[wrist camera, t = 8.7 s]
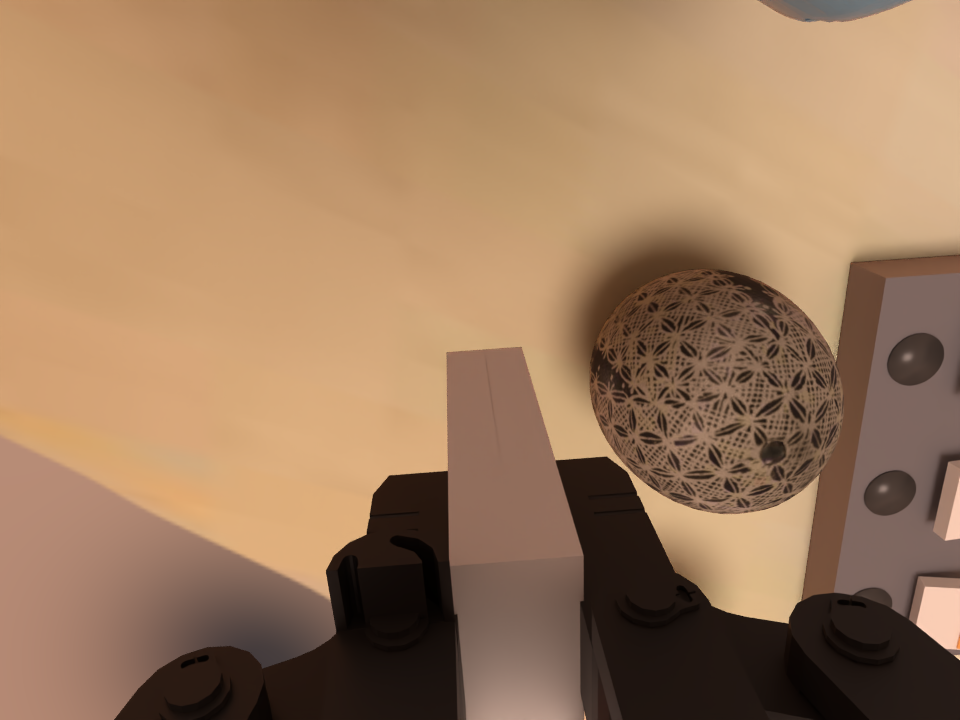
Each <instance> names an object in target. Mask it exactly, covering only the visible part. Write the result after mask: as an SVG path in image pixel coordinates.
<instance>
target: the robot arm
mask: <svg viewBox="0 0 960 720" xmlns="http://www.w3.org/2000/svg"><path fill="white" fill-rule="evenodd" d="M758 1H760V2H762V3H763V4H765V5H766V6H768V7H770V8H771V9H773V10H775V11H776V12H778V13H780V14H782V15H784V16H786V17H789V18H792V19H796V20H799V21H803V22H813V21H826V22H833V21H839V22H844V21H852V20H856V19H860V18H864V17H868V16H871V15H874V14H878V13H880V12H883V11H886V10H889V9H892V8H894V7H897V6H899V5H902V4H904V3H906V2H909V1H911V0H758ZM447 429H448V471H442V472H429V473H416V474H403V475H390V476H388V478H387V479H386V480H385V481H384V482H383V483H382V485H381V486H380V487H379V488H378V489H377V491H376V492H375V493H374V494H373V499H372V505H371V510H370V519H369V522H368V528H367V535H365V536H363V537H361V538H358V539H356V540H354V541H352V542H350V543H348V544H347V545H346V546H345V547H344V548H342V549H341V550H340V551H339V552H338V553H337V554H335V555H334V557H333V558H332V560H331V562H330V564H329V566H328V568H327V570H326V575H327V581H328V586H329V592H330V598H331V603H332V609H333V615H334V620H335V626H336V634H335V635H334V636H333V637H332V638H331V639H330V640H329V641H327V642H325V643H324V644H322V645H321V646H319V647H318V648H316V649H315V650H312V651H310V652H307V653H305V654H303V655H301V656H298V657H296V658H293V659H290V660H287V661H284V662H281V663H278V664H275V665H272V666H269V667H266V668H263V669H262V667H261V664H260V663H259V662H258V661H257V660H256V659H255V658H254V656H253V655H252V654H251V653H250V652H248V651H244V650H241V649H238V648H234V647H231V646H226V647H207V648H204V649H200V650H197V651H194V652H191V653H188V654H185V655H182V656H180V657H178V658H177V659H175V660H173V661H172V662H170V663H168V664H167V665H165V666H163V667H162V668H160V669H158V670H157V672H155V673H154V674H153V675H152V676H151V677H150V678H149V679H148V680H147V681H146V682H145V683H144V684H143V685H142V686H141V687H140V688H139V689H138V690H137V691H136V693H135V694H134V695H133V696H132V698H131V699H130V700H129V702H128V703H127V704H126V705H125V707H124V708H123V709H122V710H121V712H120V713H119V714H118V715H117V717H116V718H115V719H114V720H584V711H585V716H586V720H960V660H959V659H957V658H956V657H955V656H954V655H952V654H951V653H950V652H949V651H947V650H946V649H945V648H944V647H943V646H941V645H940V644H939V643H938V642H936V641H935V640H934V639H933V638H931V637H930V636H929V635H928V634H926V633H925V632H924V631H923V630H922V629H920V628H919V627H918V626H917V625H915V624H914V623H913V622H912V621H910V620H909V619H907V618H906V617H904V616H902V615H901V614H899V613H898V612H896V611H895V610H893V609H891V608H890V607H888V606H886V605H883V604H881V603H878V602H875V601H873V600H870V599H867V598H864V597H862V596H856V595H849V594H842V593H827V594H818V595H812V596H810V597H808V598H807V599H805V600H803V601H801V602H799V603H797V605H796V606H795V608H794V610H793V612H792V614H791V615H790V617H789V624H787V623H781V622H775V621H768V620H762V619H756V618H749V617H744V616H740V615H736V614H731V613H727V612H725V611H722V610H720V609H717V608H715V607H712V606H711V604H710V602H709V600H708V599H707V598H706V596H705V595H704V594H703V593H702V591H701V590H700V589H699V588H698V586H697V585H695V584H694V583H692V582H691V581H689V580H687V579H686V578H684V577H682V576H681V575H679V574H677V573H675V571H674V569H673V567H672V565H671V563H670V561H669V559H668V557H667V555H666V553H665V550H664V548H663V546H662V544H661V542H660V540H659V538H658V536H657V534H656V531H655V529H654V527H653V525H652V523H651V521H650V519H649V517H648V515H647V513H645V509H644V506H643V504H642V502H641V500H640V498H639V496H637V491H636V489H635V487H634V485H633V483H632V481H631V479H630V477H629V475H628V473H627V472H626V471H625V470H624V469H622V468H621V467H620V466H618V465H617V464H616V463H614V462H613V461H612V460H611V459H609V458H608V457H595V458H582V459H569V460H556V461H555V458H554V455H553V451H552V448H551V445H550V441H549V438H548V434H547V431H546V428H545V424H544V421H543V418H542V414H541V411H540V408H539V404H538V401H537V398H536V394H535V391H534V387H533V384H532V381H531V377H530V374H529V371H528V367H527V364H526V361H525V357H524V354H523V350H522V347H514V348H500V349H486V350H473V351H459V352H447Z"/></svg>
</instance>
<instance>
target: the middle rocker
mask: <svg viewBox="0 0 960 720" xmlns="http://www.w3.org/2000/svg"><path fill="white" fill-rule="evenodd" d="M933 532H935V533H936V534H937V535H938V536H940V537H941V538H942V539H943V540H945V541H947V540H954V539H960V460H958V461H950V462H948V466H947V470H946V475H945V479H944V484H943V488H942V493H941V497H940V502H939V506H938V510H937V515H936V519H935V524H934V528H933Z"/></svg>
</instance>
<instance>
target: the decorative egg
mask: <svg viewBox="0 0 960 720" xmlns="http://www.w3.org/2000/svg"><path fill="white" fill-rule="evenodd" d="M590 393H591V400H592V405H593V409H594V412H595V415H596V418H597V421H598V423H599V426H600V428H601V430H602V432H603V434H604V436H605V438H606V440H607V441H608V443H609V445H610V446H611V447H612V449H613V450H614V452H615V453H616V455H617V456H618V457H619V458H620V459H621V461H622V462H623V463H624V464H625V465H626V466H627V467H628V468H629V469H630V470H631V471H632V472H633V473H634V474H635V475H636V476H637V477H638V478H640V479H641V480H642V481H643V482H644V483H646V484H647V485H648V486H650V487H651V488H652V489H654V490H656V491H657V492H659V493H660V494H662V495H663V496H665V497H667V498H669V499H671V500H673V501H675V502H678V503H680V504H683V505H685V506H688V507H691V508H694V509H697V510H702V511H707V512H712V513H719V514H740V513H748V512H755V511H760V510H765V509H768V508H771V507H774V506H777V505H779V504H781V503H783V502H785V501H787V500H789V499H790V498H792V497H793V496H795V495H796V494H798V493H799V492H801V491H802V490H803V489H804V488H806V487H807V486H808V485H809V484H810V483H811V482H812V481H813V480H814V479H815V478H816V477H817V476H818V474H819V473H820V472H821V471H822V470H823V468H824V467H825V465H826V464H827V462H828V461H829V459H830V457H831V455H832V453H833V451H834V449H835V447H836V444H837V441H838V438H839V435H840V432H841V428H842V422H843V416H844V395H843V389H842V383H841V378H840V374H839V370H838V367H837V365H836V362H835V359H834V356H833V355H832V352H831V350H830V347H829V346H828V344H827V342H826V341H825V339H824V338H823V336H822V335H821V333H820V332H819V330H818V329H817V327H816V326H815V325H814V323H813V322H812V321H811V320H810V319H809V318H808V317H807V315H806V314H805V313H804V312H803V311H802V310H801V309H800V308H799V307H798V306H796V305H795V304H794V303H793V302H792V301H791V300H790V299H788V298H787V297H785V296H784V295H783V294H781V293H780V292H778V291H777V290H775V289H773V288H771V287H770V286H768V285H766V284H764V283H763V282H761V281H758V280H755V279H753V278H750V277H748V276H745V275H741V274H737V273H732V272H728V271H722V270H707V269H698V270H687V271H681V272H677V273H672V274H668V275H665V276H663V277H660V278H657V279H655V280H653V281H651V282H649V283H647V284H645V285H643V286H642V287H640V288H639V289H637V290H636V291H634V292H633V293H631V294H630V295H629V296H628V297H627V298H626V299H625V300H623V301H622V302H621V303H620V304H619V305H618V307H617V308H616V309H615V310H614V312H613V313H612V314H611V315H610V317H609V318H608V320H607V321H606V322H605V324H604V326H603V328H602V330H601V331H600V334H599V336H598V338H597V341H596V343H595V346H594V349H593V353H592V359H591V362H590Z"/></svg>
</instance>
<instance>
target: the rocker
mask: <svg viewBox="0 0 960 720" xmlns="http://www.w3.org/2000/svg"><path fill="white" fill-rule="evenodd" d="M909 620H910V621H912V622H913V623H914V624H915V625H917V626H918V627H919V628H920V629H922V630H923V631H924V632H925V633H926V634H928V635H929V636H930V637H931V638H933V639H934V640H935V641H936V642H938V643H939V644H940V645H941V646H943V647H944V648H945V649H955V650H960V578H941V577H923V576H918V580H917V585H916V589H915V594H914V598H913V603H912V607H911V612H910V617H909Z"/></svg>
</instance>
